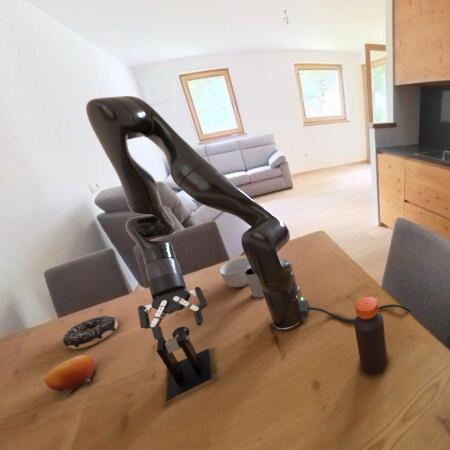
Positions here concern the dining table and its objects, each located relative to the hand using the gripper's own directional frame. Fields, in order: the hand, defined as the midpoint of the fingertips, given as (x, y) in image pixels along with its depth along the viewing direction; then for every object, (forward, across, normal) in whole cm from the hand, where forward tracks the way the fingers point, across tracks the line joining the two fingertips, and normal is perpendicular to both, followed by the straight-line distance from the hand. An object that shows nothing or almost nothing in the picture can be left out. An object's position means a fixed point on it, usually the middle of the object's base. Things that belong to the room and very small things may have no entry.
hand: (181, 332), depth 74 cm
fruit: (+1, -24, +9) cm, 26 cm away
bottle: (+30, +39, -20) cm, 53 cm away
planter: (-4, +21, +14) cm, 26 cm away
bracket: (+12, 0, -2) cm, 12 cm away
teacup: (-14, +18, +24) cm, 33 cm away
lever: (+4, 0, -4) cm, 6 cm away
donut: (-13, -24, +23) cm, 36 cm away
